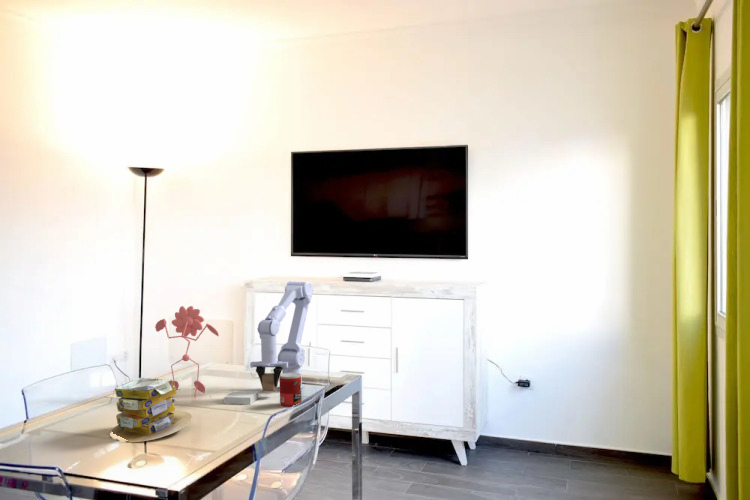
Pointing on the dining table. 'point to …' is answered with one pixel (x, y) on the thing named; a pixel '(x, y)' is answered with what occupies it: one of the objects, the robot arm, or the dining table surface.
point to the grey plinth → (241, 397)
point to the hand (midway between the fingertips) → (269, 386)
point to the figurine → (187, 324)
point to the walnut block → (268, 382)
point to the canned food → (290, 389)
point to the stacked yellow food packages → (148, 410)
